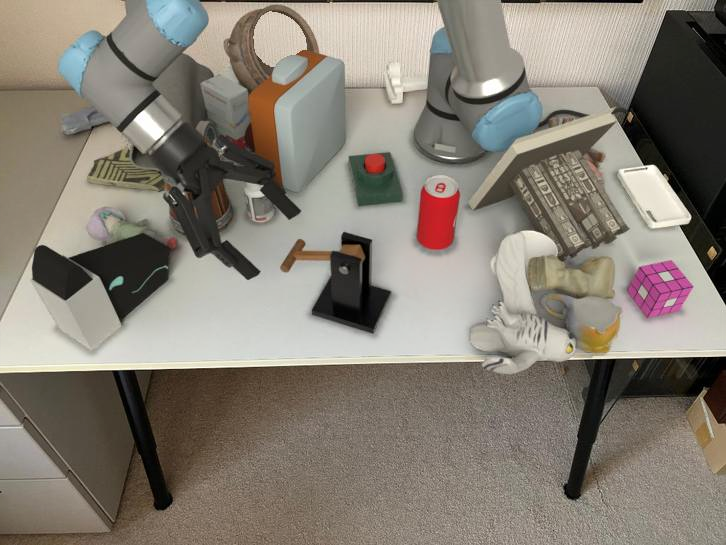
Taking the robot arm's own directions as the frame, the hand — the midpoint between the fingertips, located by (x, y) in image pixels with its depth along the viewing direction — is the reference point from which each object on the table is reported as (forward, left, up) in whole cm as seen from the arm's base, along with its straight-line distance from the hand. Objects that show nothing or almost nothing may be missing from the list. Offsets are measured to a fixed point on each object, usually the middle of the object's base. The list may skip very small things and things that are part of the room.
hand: (275, 244), depth 92 cm
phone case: (-68, -3, -8) cm, 68 cm away
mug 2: (-42, +16, -2) cm, 45 cm away
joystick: (-27, -52, -5) cm, 58 cm away
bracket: (-10, +6, -9) cm, 15 cm away
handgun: (+34, -62, -7) cm, 71 cm away
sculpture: (-50, +9, -6) cm, 51 cm away
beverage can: (-26, -6, -9) cm, 29 cm away
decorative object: (+25, -1, -9) cm, 26 cm away
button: (-19, -22, -5) cm, 30 cm away
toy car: (+5, -58, -9) cm, 59 cm away
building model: (-45, -13, +1) cm, 47 cm away
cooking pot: (+2, -60, -4) cm, 60 cm away
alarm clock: (-7, -30, -9) cm, 32 cm away
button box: (-19, -22, -9) cm, 31 cm away
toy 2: (-28, +15, +1) cm, 32 cm away
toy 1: (+18, -9, -8) cm, 21 cm away
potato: (-2, -33, -7) cm, 34 cm away
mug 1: (+12, -20, -9) cm, 25 cm away
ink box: (+7, -40, -9) cm, 42 cm away
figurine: (-58, -22, -9) cm, 63 cm away
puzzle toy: (-57, +12, -9) cm, 59 cm away
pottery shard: (+26, -30, -9) cm, 41 cm away
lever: (-7, +4, -1) cm, 8 cm away
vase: (+15, -59, -4) cm, 61 cm away
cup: (-37, +5, -9) cm, 39 cm away
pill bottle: (+2, -17, -9) cm, 19 cm away
